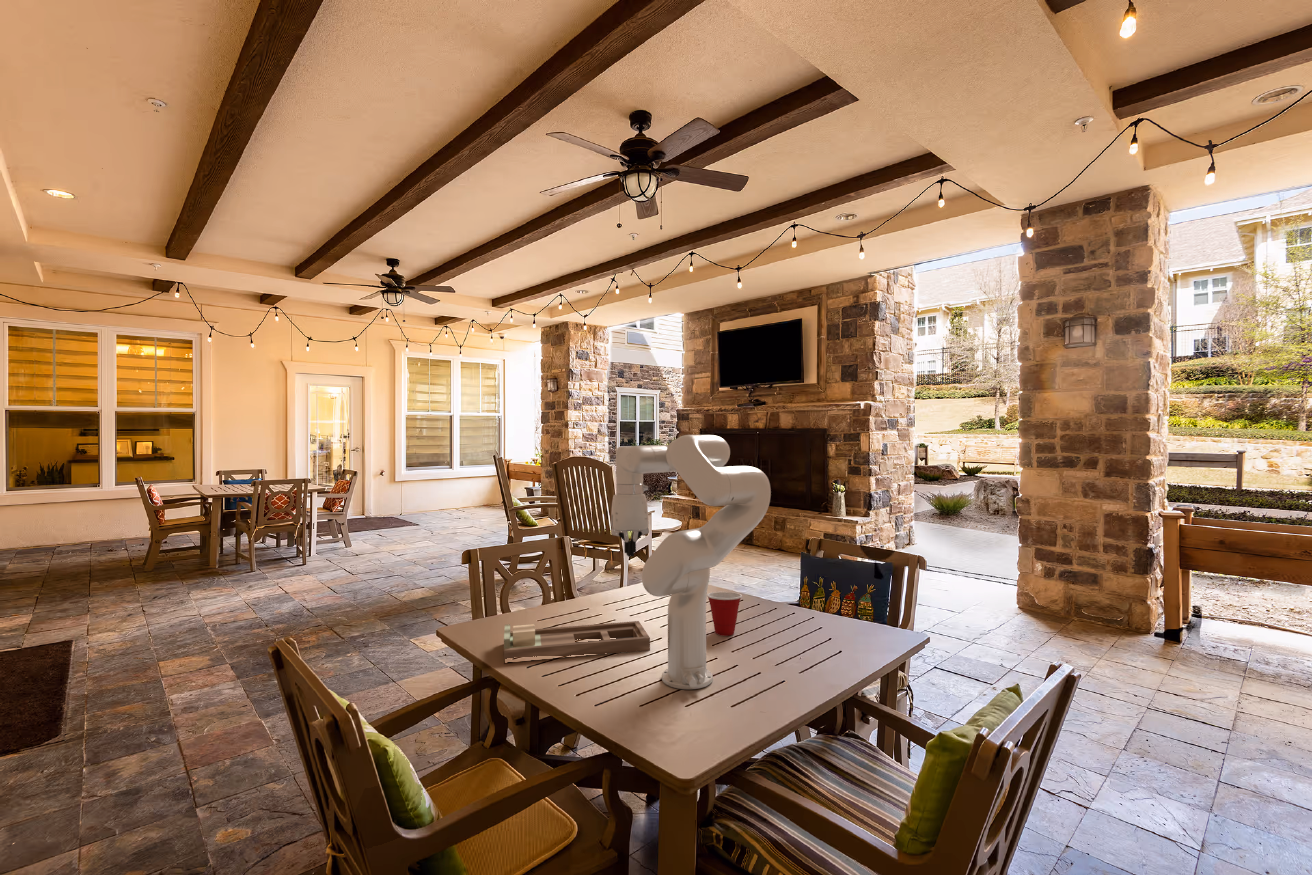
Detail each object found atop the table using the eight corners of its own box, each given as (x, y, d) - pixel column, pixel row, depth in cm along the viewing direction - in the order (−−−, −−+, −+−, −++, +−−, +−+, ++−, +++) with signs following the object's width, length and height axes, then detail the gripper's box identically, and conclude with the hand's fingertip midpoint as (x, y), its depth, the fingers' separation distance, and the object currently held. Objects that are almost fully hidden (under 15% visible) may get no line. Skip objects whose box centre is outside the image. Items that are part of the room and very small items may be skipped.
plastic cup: (741, 627, 186) (741, 589, 186) (743, 639, 176) (743, 598, 176) (707, 626, 188) (706, 588, 188) (706, 638, 177) (706, 597, 177)
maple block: (535, 645, 165) (535, 630, 165) (513, 647, 163) (512, 632, 163) (534, 638, 170) (534, 624, 170) (513, 639, 169) (513, 625, 169)
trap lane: (650, 650, 167) (649, 628, 167) (503, 663, 158) (503, 641, 158) (638, 632, 183) (638, 612, 183) (505, 643, 173) (504, 623, 173)
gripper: (652, 488, 171) (653, 551, 171) (601, 489, 168) (601, 554, 168) (658, 490, 164) (659, 556, 164) (605, 492, 160) (605, 559, 160)
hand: (630, 555), depth 166 cm, fingers closed
